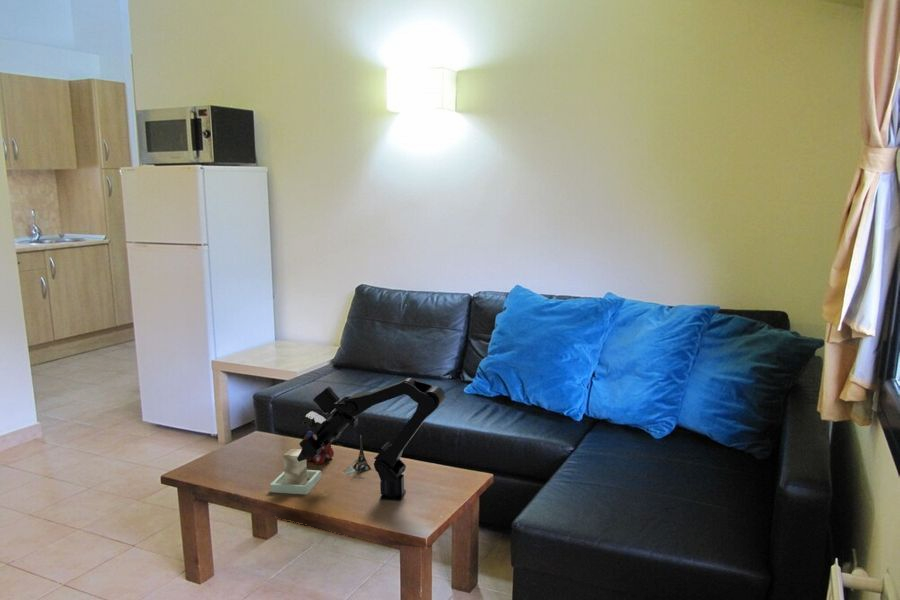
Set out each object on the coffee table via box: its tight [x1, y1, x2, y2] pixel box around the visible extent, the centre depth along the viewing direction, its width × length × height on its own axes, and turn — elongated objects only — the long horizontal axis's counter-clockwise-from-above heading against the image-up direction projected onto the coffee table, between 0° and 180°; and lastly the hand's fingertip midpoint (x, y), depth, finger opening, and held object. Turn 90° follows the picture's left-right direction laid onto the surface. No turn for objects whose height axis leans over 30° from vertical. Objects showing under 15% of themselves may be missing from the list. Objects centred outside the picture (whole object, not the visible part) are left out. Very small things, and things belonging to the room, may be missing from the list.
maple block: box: [282, 448, 308, 485], centre depth 214 cm, size 5×6×11 cm
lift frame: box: [269, 469, 322, 495], centre depth 214 cm, size 12×12×2 cm
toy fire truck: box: [303, 430, 335, 465], centre depth 234 cm, size 7×12×10 cm, turn 64°
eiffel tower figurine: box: [342, 434, 373, 479], centre depth 226 cm, size 15×10×13 cm
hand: (305, 454), depth 212 cm, fingers open, 9 cm apart
